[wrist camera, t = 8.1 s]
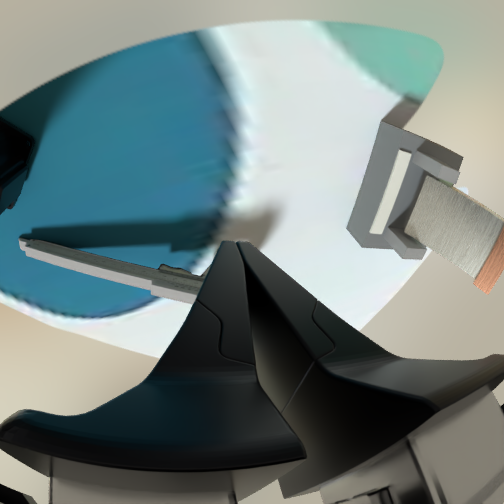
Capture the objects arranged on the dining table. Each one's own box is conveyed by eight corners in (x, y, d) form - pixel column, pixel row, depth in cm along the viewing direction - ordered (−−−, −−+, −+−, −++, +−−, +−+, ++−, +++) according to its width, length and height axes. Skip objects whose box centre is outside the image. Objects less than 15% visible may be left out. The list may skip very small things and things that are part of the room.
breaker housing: (346, 228, 25) (379, 270, 20) (380, 120, 19) (430, 143, 14) (407, 234, 27) (441, 270, 22) (441, 145, 21) (487, 171, 16)
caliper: (240, 260, 25) (254, 313, 20) (238, 270, 26) (250, 323, 21) (20, 235, 19) (-12, 281, 14) (22, 245, 20) (-8, 292, 15)
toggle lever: (401, 236, 21) (487, 294, 16) (427, 171, 18) (523, 231, 13) (408, 230, 22) (488, 284, 17) (432, 170, 19) (520, 225, 14)
